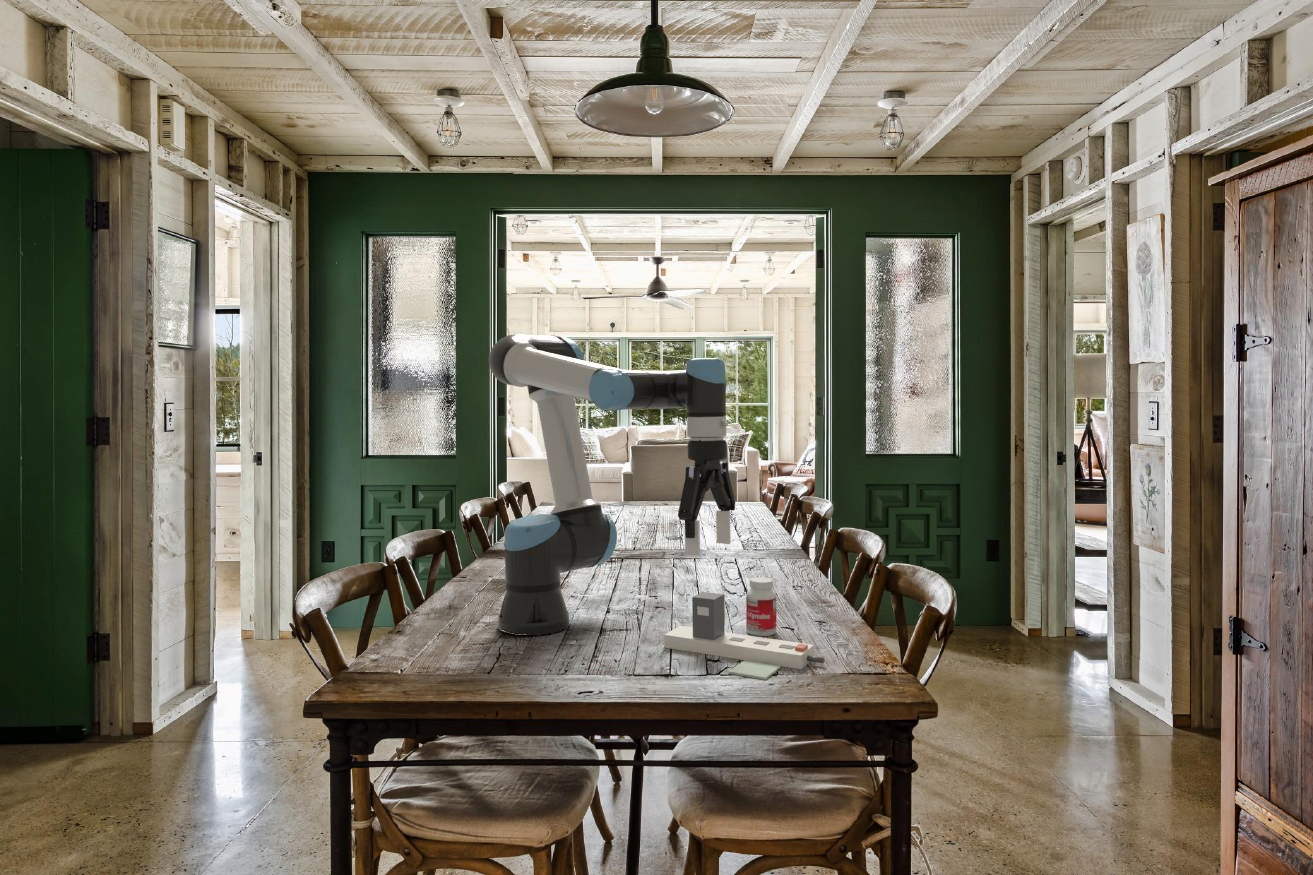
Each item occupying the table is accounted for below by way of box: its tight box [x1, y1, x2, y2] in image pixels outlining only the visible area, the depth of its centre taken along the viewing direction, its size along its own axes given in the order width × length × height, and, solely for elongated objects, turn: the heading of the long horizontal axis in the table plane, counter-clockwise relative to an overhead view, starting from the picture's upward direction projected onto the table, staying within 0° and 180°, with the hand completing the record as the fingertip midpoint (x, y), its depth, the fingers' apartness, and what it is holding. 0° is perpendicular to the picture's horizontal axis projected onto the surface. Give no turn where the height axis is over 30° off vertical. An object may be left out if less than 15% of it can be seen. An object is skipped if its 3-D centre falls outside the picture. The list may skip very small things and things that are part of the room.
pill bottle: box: [745, 577, 777, 637], centre depth 169 cm, size 6×6×11 cm
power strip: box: [663, 625, 825, 670], centre depth 155 cm, size 31×7×3 cm, turn 60°
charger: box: [691, 591, 726, 640], centre depth 159 cm, size 5×5×10 cm
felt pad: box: [728, 660, 782, 681], centre depth 146 cm, size 7×7×1 cm
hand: (708, 549), depth 158 cm, fingers open, 13 cm apart
